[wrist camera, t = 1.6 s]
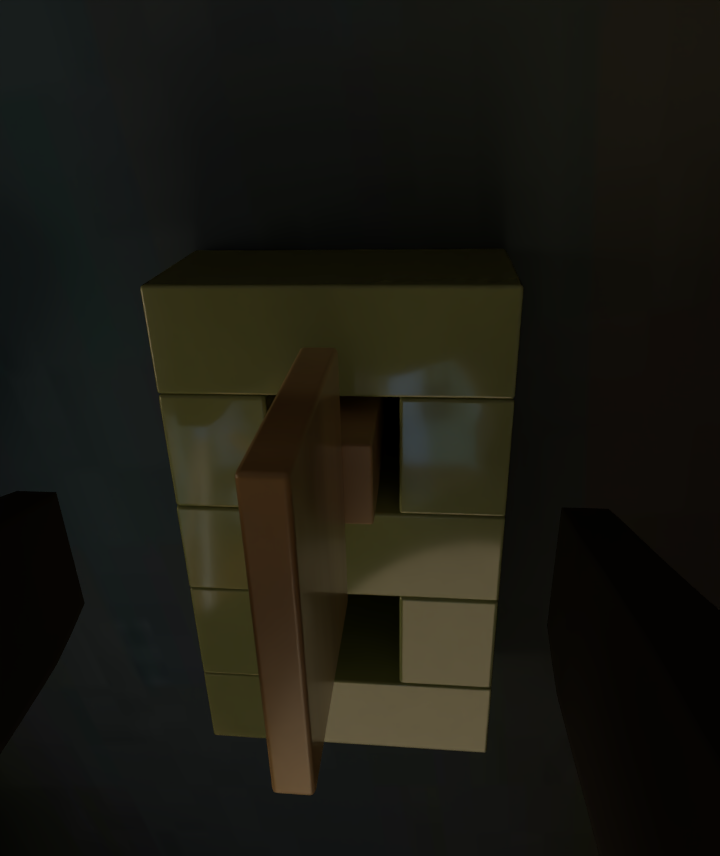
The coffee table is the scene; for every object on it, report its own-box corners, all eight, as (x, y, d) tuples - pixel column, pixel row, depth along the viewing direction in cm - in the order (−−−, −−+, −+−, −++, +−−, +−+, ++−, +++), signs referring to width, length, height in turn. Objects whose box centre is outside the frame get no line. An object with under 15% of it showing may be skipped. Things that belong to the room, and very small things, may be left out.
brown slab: (388, 490, 16) (351, 801, 9) (321, 488, 16) (234, 792, 9) (386, 283, 14) (337, 476, 7) (310, 283, 14) (184, 471, 7)
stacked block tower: (478, 657, 18) (486, 753, 16) (245, 644, 19) (213, 735, 16) (506, 248, 14) (525, 284, 11) (194, 249, 14) (138, 285, 11)
